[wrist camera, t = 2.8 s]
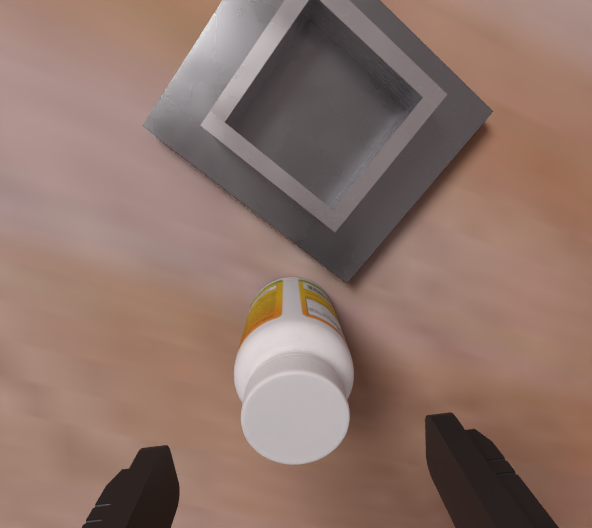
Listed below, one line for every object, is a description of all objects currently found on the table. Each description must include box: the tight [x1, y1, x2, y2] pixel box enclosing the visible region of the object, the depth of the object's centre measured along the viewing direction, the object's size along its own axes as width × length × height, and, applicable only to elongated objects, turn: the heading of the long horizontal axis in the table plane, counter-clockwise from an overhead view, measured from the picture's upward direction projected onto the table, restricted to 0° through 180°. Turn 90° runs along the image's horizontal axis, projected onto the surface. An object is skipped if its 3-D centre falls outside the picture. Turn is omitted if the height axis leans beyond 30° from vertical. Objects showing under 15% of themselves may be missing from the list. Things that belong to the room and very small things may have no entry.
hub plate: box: [143, 0, 493, 283], centre depth 17 cm, size 14×12×3 cm
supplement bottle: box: [234, 277, 354, 465], centre depth 17 cm, size 5×5×10 cm
